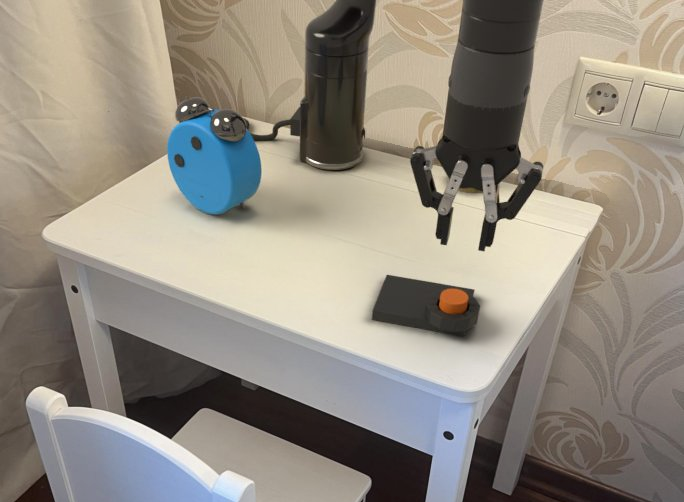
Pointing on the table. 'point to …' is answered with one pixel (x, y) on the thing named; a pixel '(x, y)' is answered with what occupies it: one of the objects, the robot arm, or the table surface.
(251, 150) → the alarm clock
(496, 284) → the table surface
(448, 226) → the robot arm
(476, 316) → the scale
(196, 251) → the table surface
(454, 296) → the tare button
